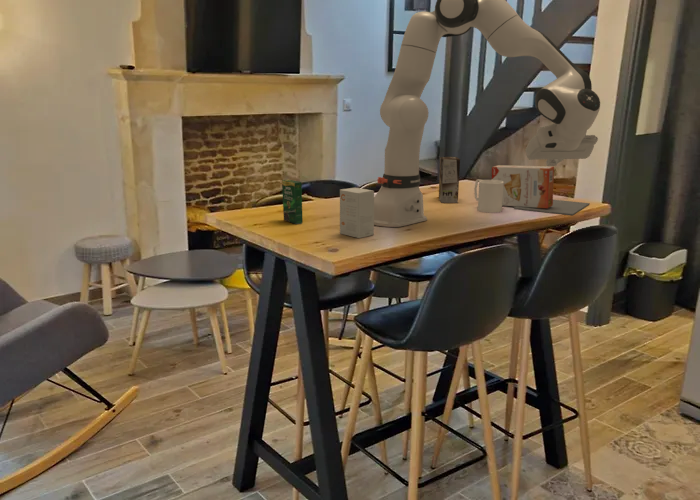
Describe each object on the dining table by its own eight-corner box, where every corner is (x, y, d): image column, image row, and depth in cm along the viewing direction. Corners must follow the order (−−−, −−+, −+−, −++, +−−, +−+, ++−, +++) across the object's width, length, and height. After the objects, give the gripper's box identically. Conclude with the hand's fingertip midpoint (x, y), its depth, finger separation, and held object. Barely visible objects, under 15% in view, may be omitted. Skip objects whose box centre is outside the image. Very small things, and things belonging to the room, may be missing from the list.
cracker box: (548, 208, 212) (490, 205, 224) (553, 206, 216) (496, 202, 228) (549, 167, 208) (490, 166, 220) (554, 166, 213) (497, 165, 225)
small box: (374, 235, 178) (374, 190, 174) (358, 238, 174) (358, 192, 170) (355, 230, 184) (355, 187, 180) (339, 233, 179) (339, 189, 176)
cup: (482, 205, 223) (483, 177, 220) (506, 211, 213) (508, 182, 210) (465, 207, 218) (466, 179, 216) (489, 213, 209) (491, 184, 206)
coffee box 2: (458, 203, 227) (460, 159, 223) (441, 202, 227) (442, 159, 223) (454, 198, 236) (457, 156, 232) (438, 198, 236) (439, 156, 232)
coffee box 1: (282, 220, 197) (281, 179, 194) (290, 219, 199) (289, 178, 195) (295, 224, 191) (294, 182, 187) (303, 223, 192) (302, 181, 189)
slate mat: (572, 215, 206) (572, 214, 205) (513, 209, 216) (514, 207, 216) (589, 204, 225) (589, 203, 225) (534, 199, 236) (535, 197, 235)
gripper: (597, 127, 188) (579, 156, 200) (532, 128, 185) (518, 157, 197) (603, 143, 185) (584, 171, 197) (537, 144, 182) (522, 172, 194)
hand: (550, 164), depth 197 cm, fingers closed
